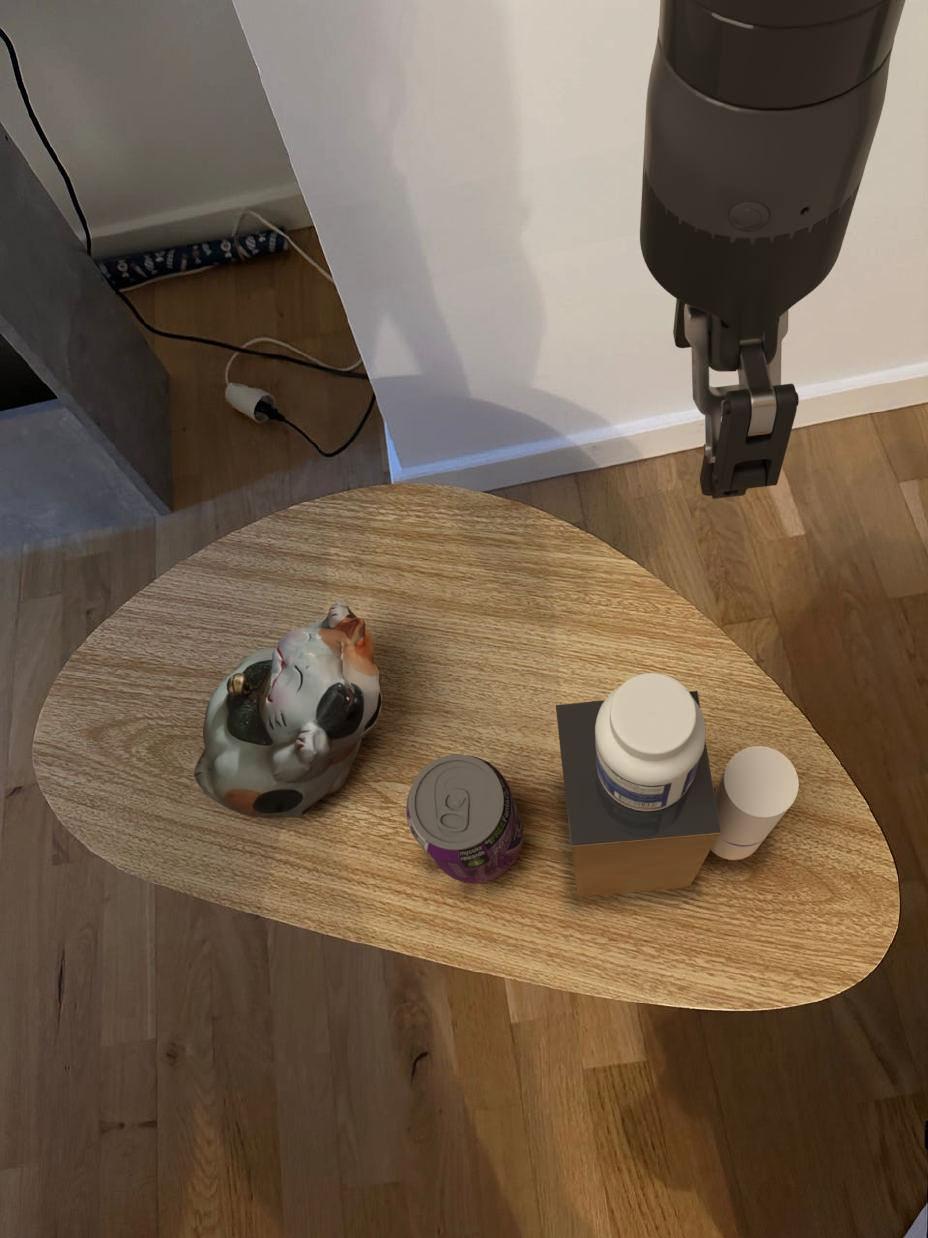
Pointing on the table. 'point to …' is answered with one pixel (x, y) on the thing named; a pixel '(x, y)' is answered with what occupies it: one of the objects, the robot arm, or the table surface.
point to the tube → (752, 799)
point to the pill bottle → (649, 741)
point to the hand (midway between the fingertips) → (708, 411)
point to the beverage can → (465, 818)
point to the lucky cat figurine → (291, 719)
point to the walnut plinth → (639, 865)
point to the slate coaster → (601, 814)
